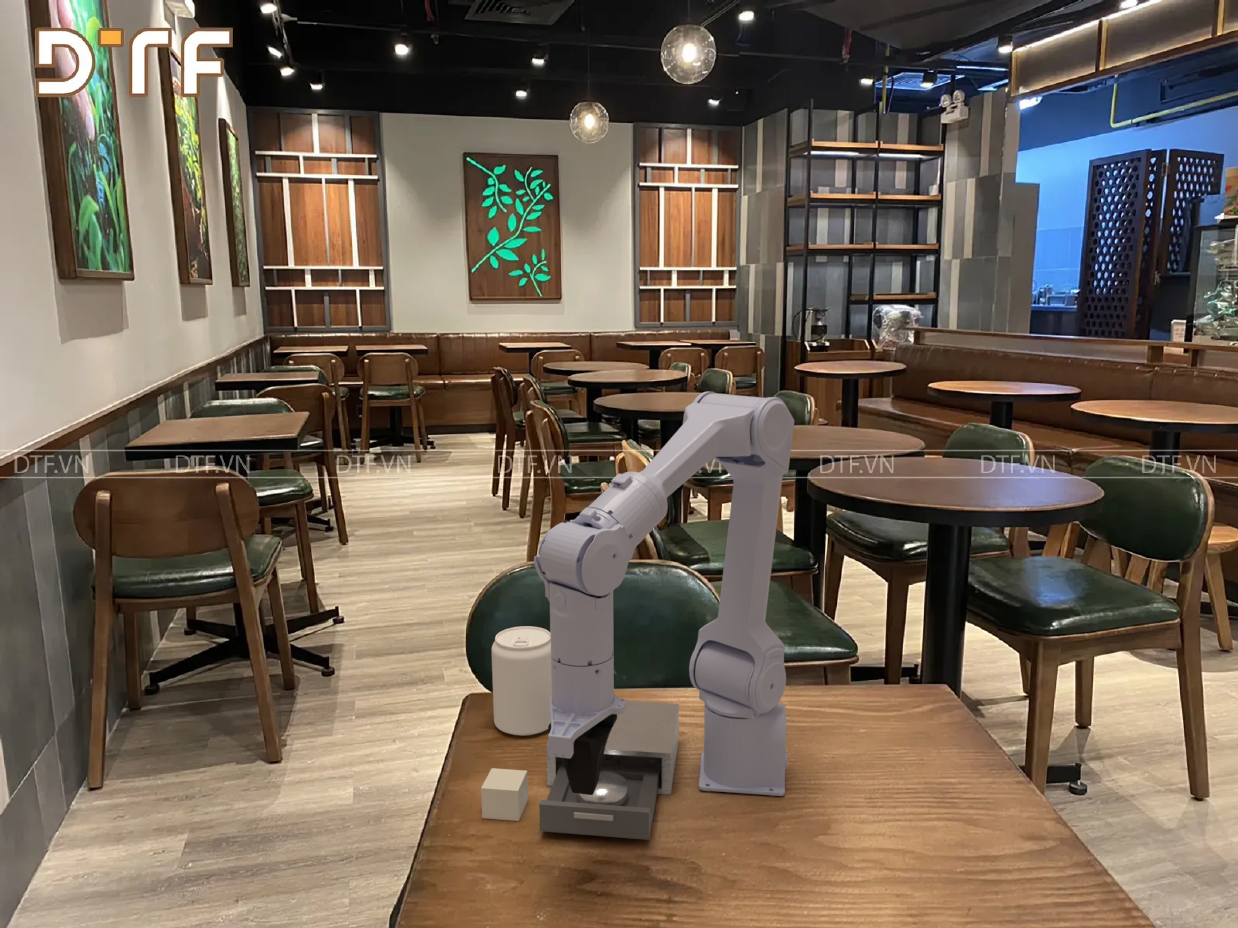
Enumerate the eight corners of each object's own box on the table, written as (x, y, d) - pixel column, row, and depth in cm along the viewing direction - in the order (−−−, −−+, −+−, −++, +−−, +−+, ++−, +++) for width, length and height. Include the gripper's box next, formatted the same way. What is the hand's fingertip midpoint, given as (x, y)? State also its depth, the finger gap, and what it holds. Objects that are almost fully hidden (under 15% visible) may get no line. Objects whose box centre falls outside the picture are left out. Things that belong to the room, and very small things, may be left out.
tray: (659, 779, 98) (659, 755, 98) (648, 841, 87) (648, 814, 87) (562, 772, 100) (561, 748, 99) (539, 832, 89) (538, 805, 88)
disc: (630, 786, 96) (630, 773, 96) (624, 815, 91) (624, 801, 90) (582, 783, 97) (582, 769, 96) (573, 811, 91) (572, 797, 91)
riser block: (528, 799, 96) (527, 770, 95) (518, 821, 92) (518, 790, 91) (492, 797, 97) (491, 768, 96) (482, 818, 93) (481, 788, 92)
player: (678, 741, 108) (679, 703, 108) (670, 794, 97) (671, 753, 96) (568, 734, 110) (567, 697, 109) (547, 785, 99) (546, 745, 98)
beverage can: (561, 710, 117) (559, 625, 114) (551, 740, 109) (549, 650, 107) (502, 708, 118) (499, 623, 115) (487, 738, 110) (484, 647, 107)
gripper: (604, 692, 72) (605, 842, 74) (642, 628, 85) (642, 756, 88) (523, 684, 73) (527, 830, 76) (573, 622, 87) (574, 748, 90)
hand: (584, 790), depth 82 cm, fingers closed
